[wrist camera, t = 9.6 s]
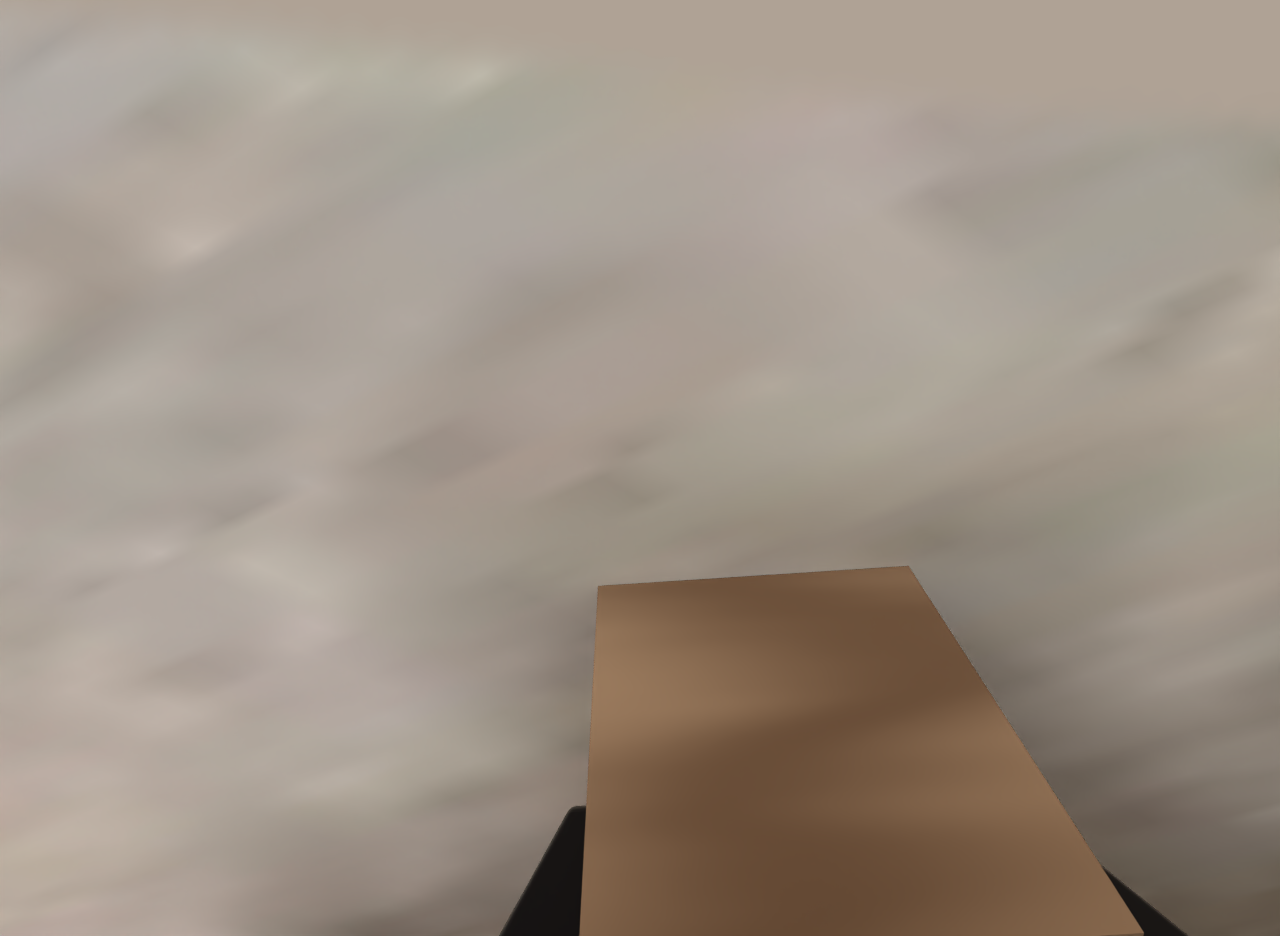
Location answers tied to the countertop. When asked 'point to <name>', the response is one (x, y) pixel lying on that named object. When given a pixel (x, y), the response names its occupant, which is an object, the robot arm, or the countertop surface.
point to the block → (815, 772)
